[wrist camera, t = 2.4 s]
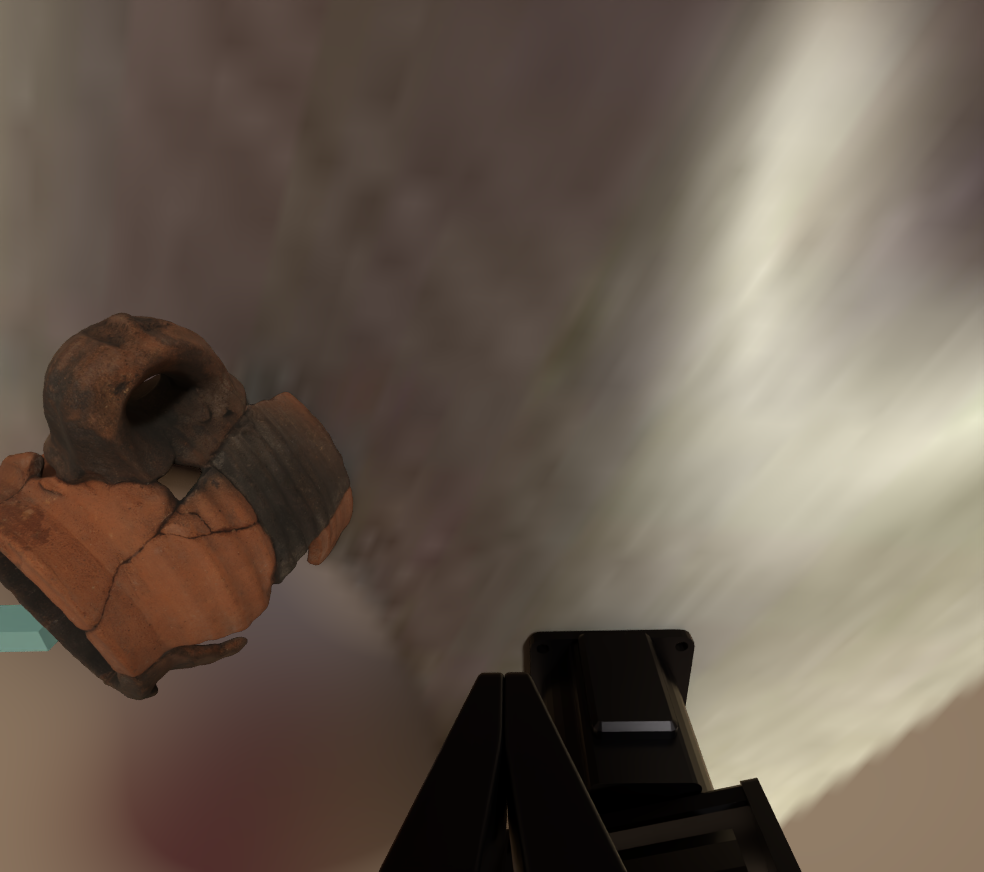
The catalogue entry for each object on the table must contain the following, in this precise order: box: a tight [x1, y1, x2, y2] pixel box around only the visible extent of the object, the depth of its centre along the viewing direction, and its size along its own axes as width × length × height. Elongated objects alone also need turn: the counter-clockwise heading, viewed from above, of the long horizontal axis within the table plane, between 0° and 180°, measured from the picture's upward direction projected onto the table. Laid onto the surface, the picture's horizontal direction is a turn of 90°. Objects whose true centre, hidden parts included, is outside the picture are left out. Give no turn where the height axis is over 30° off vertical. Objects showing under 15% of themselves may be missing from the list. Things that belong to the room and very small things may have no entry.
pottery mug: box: [0, 313, 353, 700], centre depth 17 cm, size 12×10×8 cm
